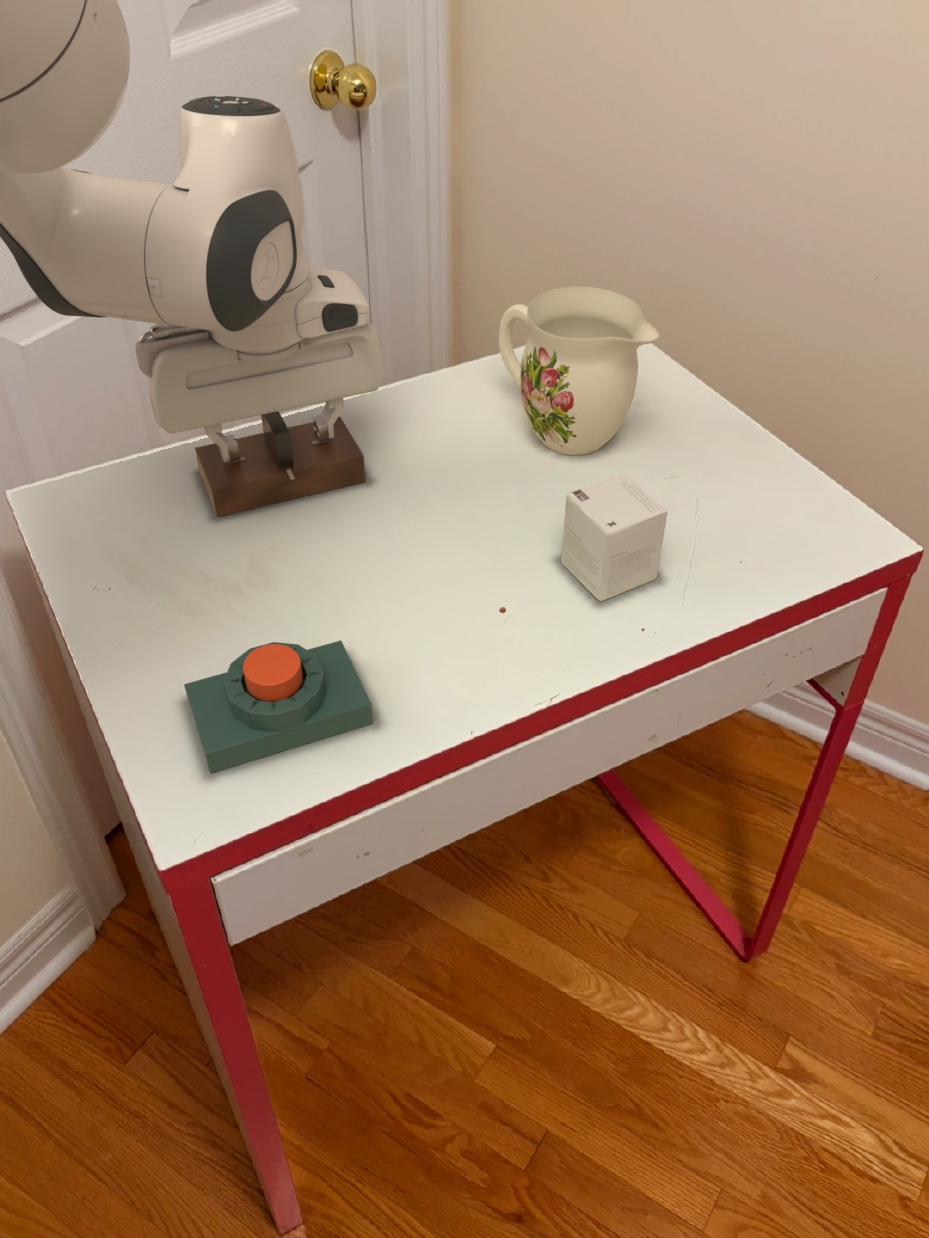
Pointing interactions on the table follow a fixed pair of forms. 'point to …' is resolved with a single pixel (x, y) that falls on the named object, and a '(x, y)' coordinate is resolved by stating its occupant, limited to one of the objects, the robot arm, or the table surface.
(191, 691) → the button block
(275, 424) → the dark brown box
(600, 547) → the product carton
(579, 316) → the pitcher
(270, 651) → the release button
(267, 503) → the dial panel
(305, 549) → the table surface
